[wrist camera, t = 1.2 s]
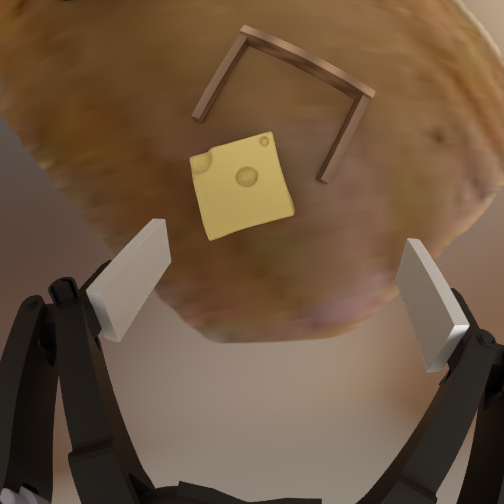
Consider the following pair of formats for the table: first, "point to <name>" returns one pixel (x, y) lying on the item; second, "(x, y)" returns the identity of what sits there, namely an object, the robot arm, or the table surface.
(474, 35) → the table surface
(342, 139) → the brown wooden u frame
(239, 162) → the cheese
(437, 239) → the table surface
